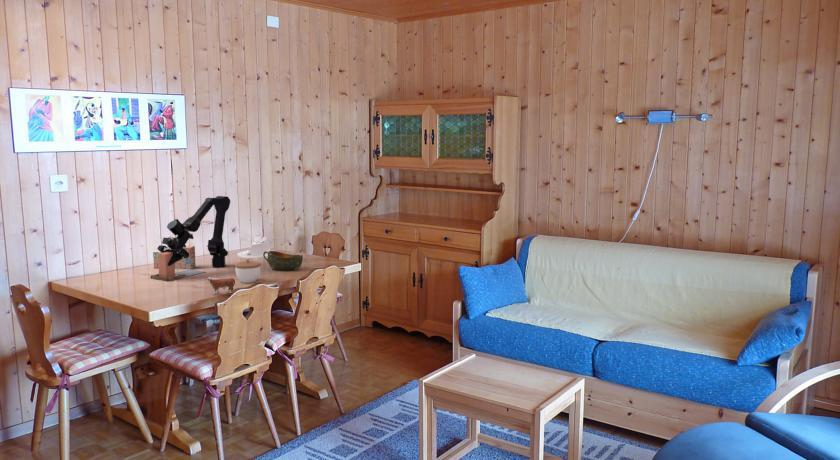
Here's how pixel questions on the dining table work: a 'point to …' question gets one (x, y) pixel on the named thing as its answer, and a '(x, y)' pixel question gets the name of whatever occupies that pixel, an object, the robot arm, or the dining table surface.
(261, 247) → the dish
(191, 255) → the stack of blocks
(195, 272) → the slate-grey mat
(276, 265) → the cup
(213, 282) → the bull figurine
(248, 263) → the lidded bowl
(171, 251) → the robot arm
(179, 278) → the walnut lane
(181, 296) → the dining table surface
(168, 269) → the salmon-pink block
